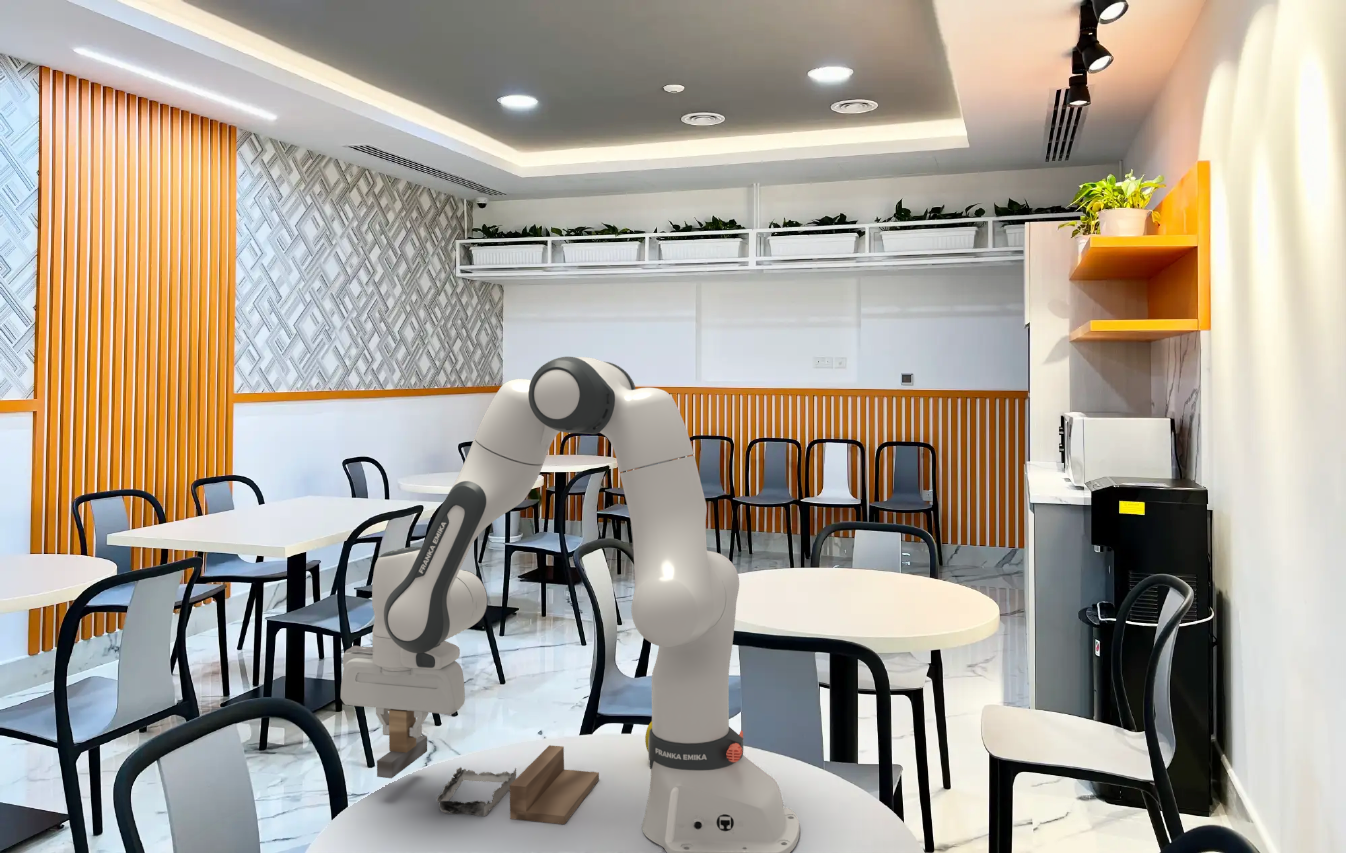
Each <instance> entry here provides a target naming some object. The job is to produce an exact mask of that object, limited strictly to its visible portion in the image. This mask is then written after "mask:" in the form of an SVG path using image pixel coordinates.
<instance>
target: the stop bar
mask: <svg viewBox="0 0 1346 853" xmlns="http://www.w3.org/2000/svg"><path fill="white" fill-rule="evenodd" d="M564 748H565V746H563V745H551V744H550V745H548V746H547V747H546V748H545V749H544V750H543V751H542V752H541V753H540V754H539V755H538V756H537V757H536V758H535V759H534V760H533V761H532V762H531V763H530V764H529V765H528V766H527V767H526V768H525V769H524V770H523V771H522V772H521V773H520V774H519V775H518V776H516V779H515V780H514V781H513V782H512V783H511V784H510V789H509V819H510V820H519V821H527V822H536V823H537V822H538V823H547V824H549V823H550V824H556V825H557V824H558V825H565V824H567V822H568V821H569V819H570V818H571V817H572V815H573V814H574V813H575V812H576V811H577V809H578V808H579V806H580V805H581V804H582V803H583V801H584V800H585V799H586V797H587V796H588V795H589V794H590V792H591V791H592V790H593V789H594V787H595V786H596V785H597V783H598V782H599V780H600V772H597V771H585V770H576V769H575V770H574V769H565V754H564V752H565V751H564V750H565V749H564Z"/></svg>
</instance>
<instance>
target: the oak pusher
mask: <svg viewBox="0 0 1346 853" xmlns="http://www.w3.org/2000/svg"><path fill="white" fill-rule="evenodd" d="M388 713H389V735H388V736H389V737H388V740H389V743H388V744H389V746H388V749H389V752H388V753H386V754H384V755H383V756H382V757H380V758H378V760H376V777H377V778H384V779H393V778H394V777H396V776H397V775H398V774H400V773H401V772H402V771H404V770H405V769H407V768H408V767H409V766H410V765H411V764H412V763H414V762H416V761H417V760H418V759H419V758H421V757H423V755H425V754H426V753H427V752H428V736H427V735H426V736H425V735H421V736H420V737H419V738H409V737H408V734H409V732H408V727H409V726H412V724H415V722H416V720H417V718H415V717H414V711H407V710H396V709H390V710H389V711H388Z"/></svg>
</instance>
